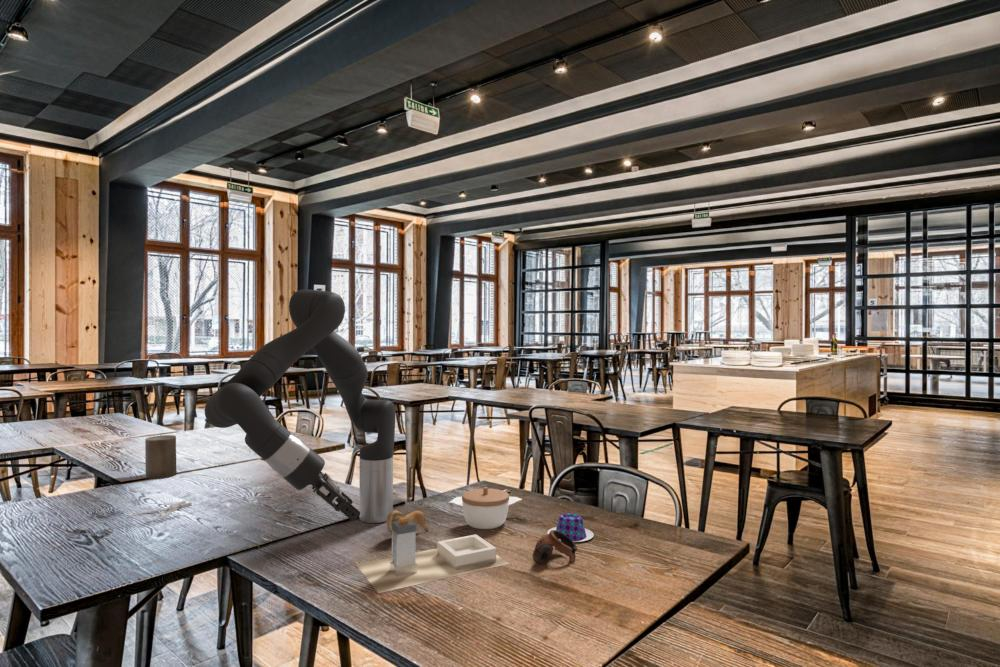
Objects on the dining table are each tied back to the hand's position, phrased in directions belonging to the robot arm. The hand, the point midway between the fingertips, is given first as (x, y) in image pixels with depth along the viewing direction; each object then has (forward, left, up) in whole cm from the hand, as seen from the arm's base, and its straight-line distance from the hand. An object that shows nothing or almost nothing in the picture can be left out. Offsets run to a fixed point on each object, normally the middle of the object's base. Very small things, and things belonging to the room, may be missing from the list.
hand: (353, 511), depth 123 cm
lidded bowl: (-18, +41, -16) cm, 47 cm away
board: (0, +18, -16) cm, 24 cm away
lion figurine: (-19, +19, -16) cm, 32 cm away
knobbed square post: (+1, +11, -14) cm, 18 cm away
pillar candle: (-122, -35, -16) cm, 128 cm away
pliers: (-74, -34, -16) cm, 83 cm away
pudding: (-3, +58, -16) cm, 60 cm away
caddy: (+1, +26, -14) cm, 29 cm away
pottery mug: (+10, +43, -16) cm, 47 cm away
